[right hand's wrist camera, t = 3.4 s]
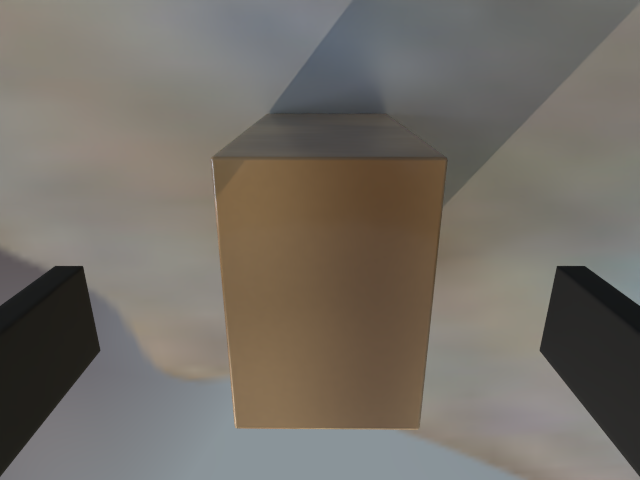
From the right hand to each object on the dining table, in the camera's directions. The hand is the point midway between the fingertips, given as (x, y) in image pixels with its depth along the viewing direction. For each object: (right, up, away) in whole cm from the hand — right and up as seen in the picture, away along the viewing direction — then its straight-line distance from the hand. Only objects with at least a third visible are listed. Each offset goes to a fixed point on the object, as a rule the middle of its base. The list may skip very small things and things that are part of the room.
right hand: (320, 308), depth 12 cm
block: (0, +4, +10) cm, 10 cm away
